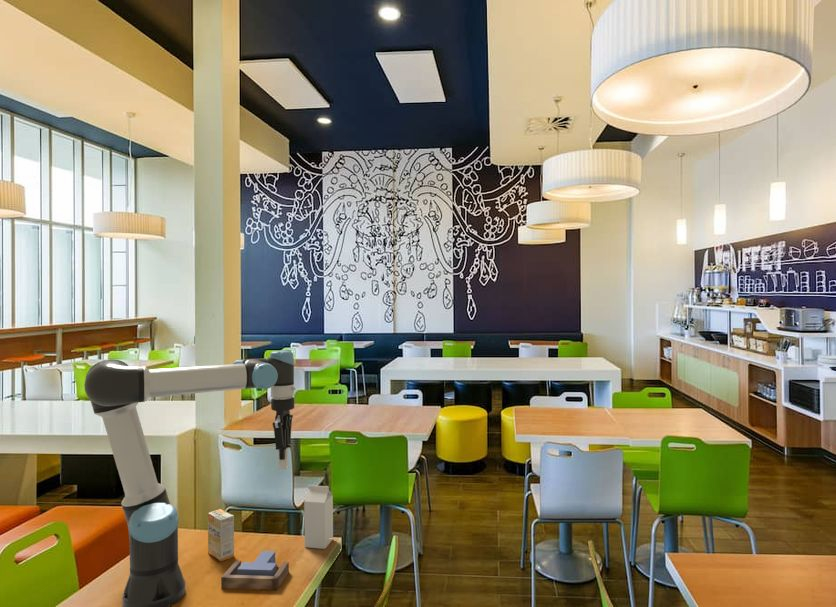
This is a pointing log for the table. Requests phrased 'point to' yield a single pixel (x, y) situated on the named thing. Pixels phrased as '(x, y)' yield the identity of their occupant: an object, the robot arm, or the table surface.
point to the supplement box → (221, 534)
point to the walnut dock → (253, 578)
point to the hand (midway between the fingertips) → (283, 468)
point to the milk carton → (318, 517)
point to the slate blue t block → (260, 565)
